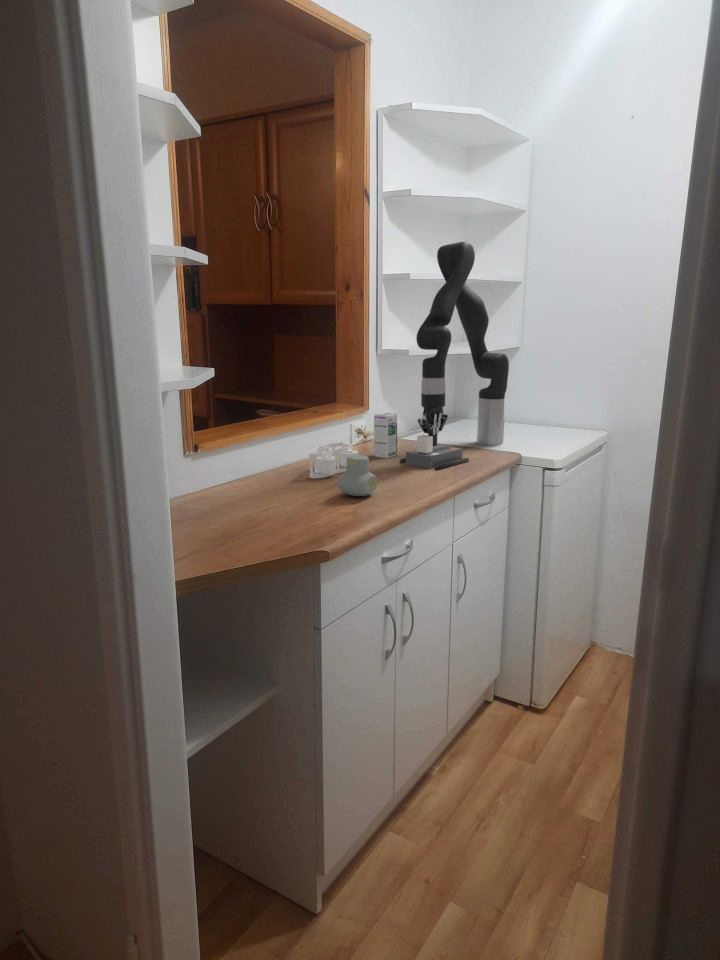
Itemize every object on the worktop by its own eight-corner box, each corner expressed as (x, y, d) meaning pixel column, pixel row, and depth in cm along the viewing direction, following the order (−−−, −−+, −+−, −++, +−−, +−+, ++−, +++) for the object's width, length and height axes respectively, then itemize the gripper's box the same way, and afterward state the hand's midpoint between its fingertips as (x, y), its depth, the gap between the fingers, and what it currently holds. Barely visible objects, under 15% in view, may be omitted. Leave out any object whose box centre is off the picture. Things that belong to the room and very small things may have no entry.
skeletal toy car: (323, 480, 196) (323, 455, 194) (295, 475, 202) (295, 451, 200) (365, 468, 211) (365, 445, 209) (338, 464, 218) (338, 441, 216)
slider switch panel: (431, 455, 230) (431, 451, 230) (469, 461, 220) (469, 457, 220) (398, 463, 218) (398, 458, 218) (437, 470, 208) (437, 466, 207)
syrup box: (387, 458, 225) (388, 415, 221) (373, 456, 228) (373, 413, 225) (397, 456, 229) (398, 413, 226) (383, 453, 233) (383, 411, 229)
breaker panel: (437, 456, 228) (438, 444, 227) (462, 460, 222) (462, 448, 221) (405, 464, 216) (405, 451, 215) (430, 469, 210) (430, 456, 209)
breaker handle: (422, 450, 217) (422, 434, 216) (432, 451, 214) (432, 436, 213) (416, 451, 215) (417, 436, 213) (426, 453, 212) (427, 437, 211)
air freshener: (353, 487, 188) (353, 452, 185) (380, 491, 184) (380, 454, 181) (334, 496, 178) (333, 459, 176) (362, 500, 174) (362, 462, 172)
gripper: (436, 388, 220) (435, 440, 224) (410, 392, 210) (410, 447, 215) (455, 390, 215) (454, 443, 219) (429, 395, 205) (429, 450, 210)
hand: (432, 445), depth 217 cm, fingers closed
